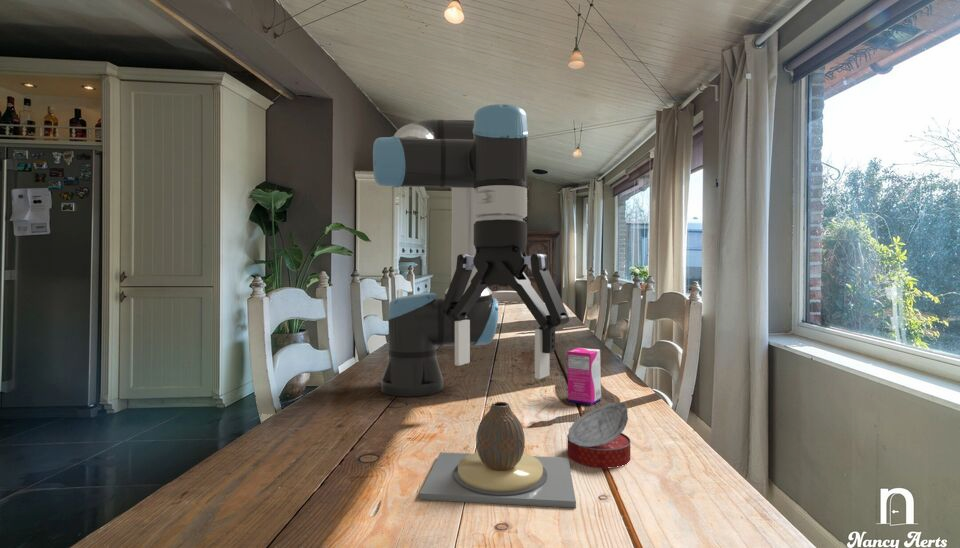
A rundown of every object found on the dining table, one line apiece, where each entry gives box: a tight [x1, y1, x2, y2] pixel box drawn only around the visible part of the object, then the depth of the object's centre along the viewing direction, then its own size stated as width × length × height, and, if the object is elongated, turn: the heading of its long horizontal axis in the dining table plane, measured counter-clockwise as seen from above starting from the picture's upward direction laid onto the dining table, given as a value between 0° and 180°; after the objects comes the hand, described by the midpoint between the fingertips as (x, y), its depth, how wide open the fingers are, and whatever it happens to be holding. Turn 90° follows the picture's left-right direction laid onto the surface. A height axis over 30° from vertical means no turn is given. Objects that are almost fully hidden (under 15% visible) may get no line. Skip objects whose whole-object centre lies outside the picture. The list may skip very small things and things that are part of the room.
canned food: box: [567, 401, 632, 469], centre depth 78 cm, size 11×10×10 cm
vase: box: [475, 401, 526, 471], centre depth 69 cm, size 7×7×9 cm
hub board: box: [419, 451, 577, 509], centre depth 69 cm, size 14×20×2 cm
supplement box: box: [566, 347, 602, 406], centre depth 110 cm, size 6×6×12 cm
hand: (499, 370), depth 69 cm, fingers open, 13 cm apart
